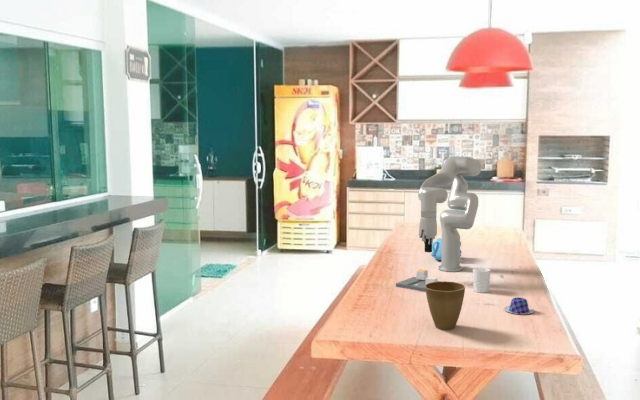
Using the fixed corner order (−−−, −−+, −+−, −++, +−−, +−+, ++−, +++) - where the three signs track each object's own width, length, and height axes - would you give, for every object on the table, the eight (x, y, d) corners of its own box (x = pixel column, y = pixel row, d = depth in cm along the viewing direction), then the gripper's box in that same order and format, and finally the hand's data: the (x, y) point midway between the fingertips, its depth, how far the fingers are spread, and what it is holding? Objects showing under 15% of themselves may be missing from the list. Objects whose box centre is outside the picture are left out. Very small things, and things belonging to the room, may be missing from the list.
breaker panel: (413, 279, 313) (413, 276, 313) (457, 287, 298) (457, 283, 298) (395, 286, 301) (395, 282, 301) (440, 294, 286) (440, 291, 286)
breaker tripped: (419, 277, 309) (419, 269, 309) (427, 279, 306) (427, 270, 306) (416, 278, 307) (416, 270, 306) (424, 280, 304) (424, 271, 304)
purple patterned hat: (515, 305, 269) (515, 293, 268) (540, 311, 259) (540, 299, 259) (497, 311, 261) (498, 298, 261) (523, 317, 252) (523, 304, 251)
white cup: (477, 293, 287) (478, 272, 285) (469, 289, 294) (469, 268, 293) (493, 292, 289) (493, 270, 287) (484, 288, 296) (484, 267, 295)
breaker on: (428, 285, 295) (428, 276, 294) (437, 286, 292) (437, 278, 291) (425, 286, 292) (425, 278, 292) (433, 288, 289) (434, 279, 289)
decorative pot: (464, 258, 360) (465, 235, 359) (455, 264, 346) (456, 239, 345) (437, 256, 368) (437, 233, 367) (427, 261, 355) (427, 237, 353)
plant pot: (458, 320, 249) (459, 280, 247) (469, 332, 234) (469, 290, 232) (421, 321, 248) (421, 281, 246) (429, 333, 234) (429, 291, 232)
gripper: (429, 212, 315) (429, 248, 318) (413, 215, 304) (413, 253, 306) (443, 213, 311) (442, 250, 313) (427, 217, 299) (427, 255, 301)
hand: (428, 251), depth 309 cm, fingers closed
